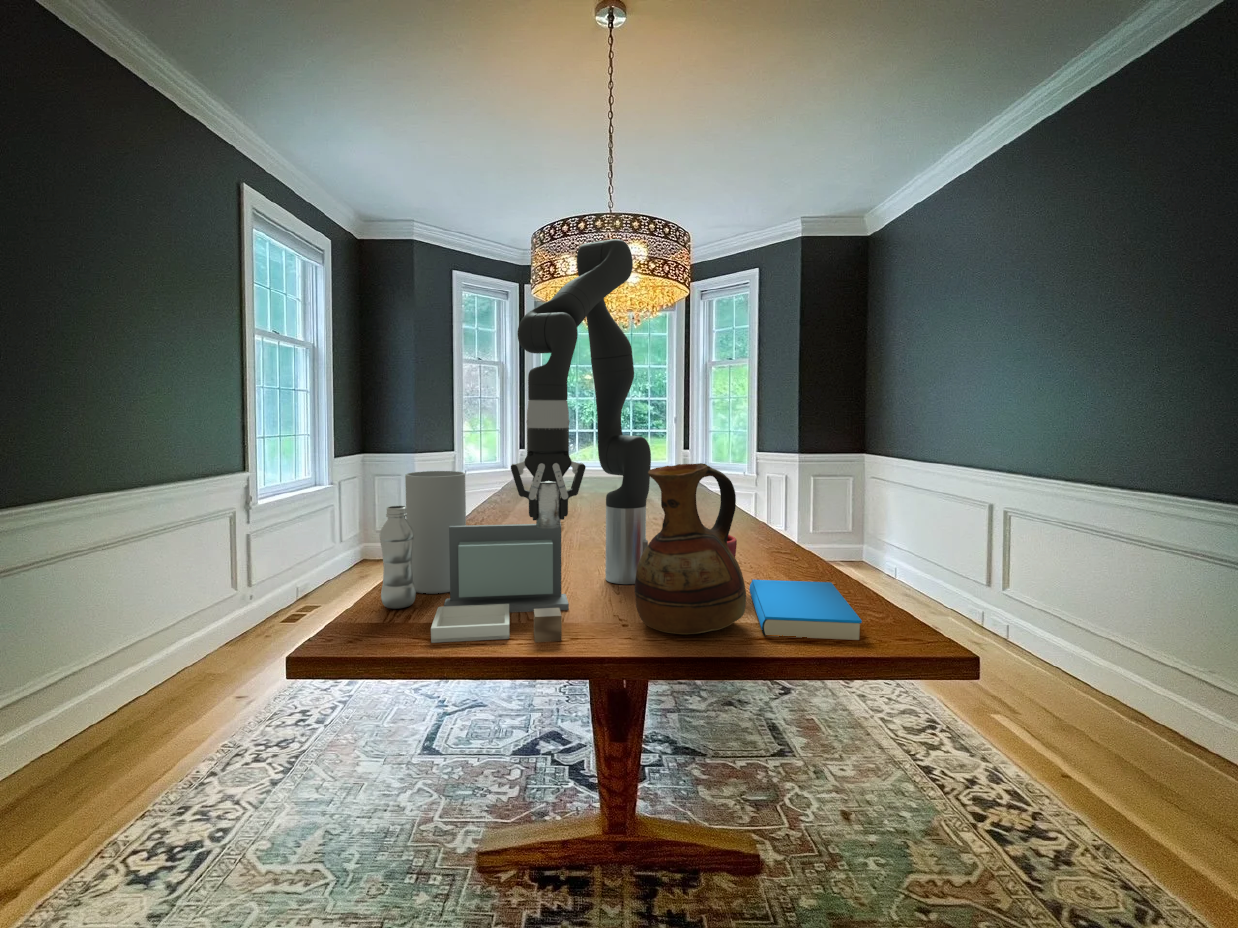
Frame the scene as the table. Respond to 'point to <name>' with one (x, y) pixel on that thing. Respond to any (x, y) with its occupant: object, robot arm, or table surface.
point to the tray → (470, 623)
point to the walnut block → (547, 625)
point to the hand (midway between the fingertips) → (548, 518)
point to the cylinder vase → (433, 525)
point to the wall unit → (506, 566)
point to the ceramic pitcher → (690, 559)
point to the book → (804, 610)
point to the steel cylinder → (548, 505)
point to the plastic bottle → (397, 559)
